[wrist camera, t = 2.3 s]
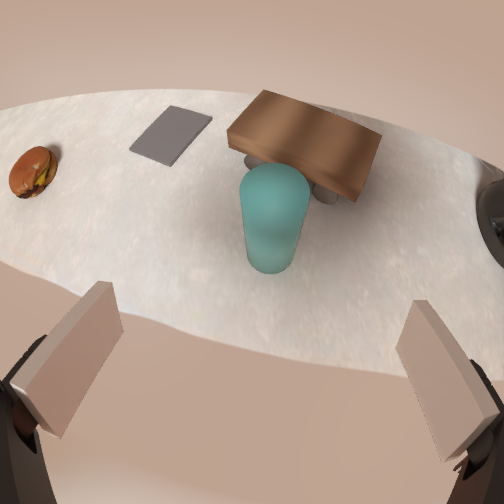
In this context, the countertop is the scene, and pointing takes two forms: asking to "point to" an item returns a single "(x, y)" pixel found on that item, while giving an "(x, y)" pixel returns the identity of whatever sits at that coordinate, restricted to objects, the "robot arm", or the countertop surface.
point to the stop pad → (170, 135)
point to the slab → (306, 144)
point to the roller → (273, 214)
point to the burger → (32, 172)
